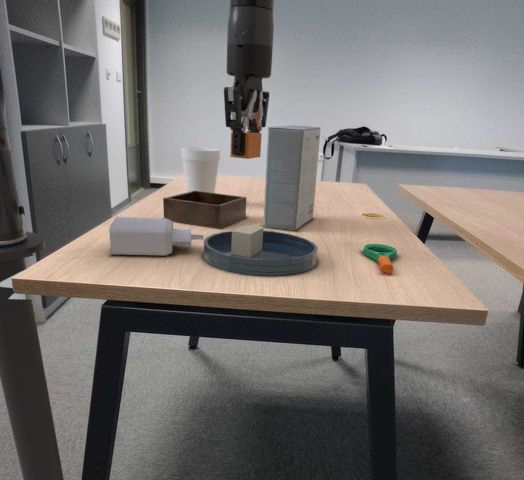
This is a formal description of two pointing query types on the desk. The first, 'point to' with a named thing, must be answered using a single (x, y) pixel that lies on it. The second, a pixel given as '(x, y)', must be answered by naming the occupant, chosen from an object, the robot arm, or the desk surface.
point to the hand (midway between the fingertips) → (245, 153)
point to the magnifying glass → (381, 255)
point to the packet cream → (247, 240)
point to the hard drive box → (290, 176)
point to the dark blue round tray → (263, 254)
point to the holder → (205, 208)
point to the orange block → (250, 145)
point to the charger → (147, 236)
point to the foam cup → (200, 168)
